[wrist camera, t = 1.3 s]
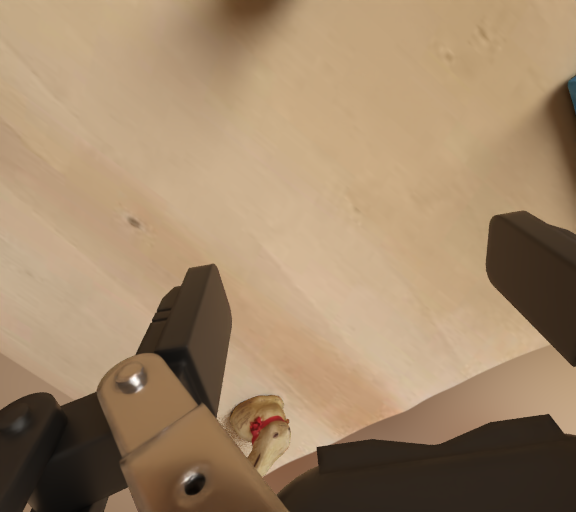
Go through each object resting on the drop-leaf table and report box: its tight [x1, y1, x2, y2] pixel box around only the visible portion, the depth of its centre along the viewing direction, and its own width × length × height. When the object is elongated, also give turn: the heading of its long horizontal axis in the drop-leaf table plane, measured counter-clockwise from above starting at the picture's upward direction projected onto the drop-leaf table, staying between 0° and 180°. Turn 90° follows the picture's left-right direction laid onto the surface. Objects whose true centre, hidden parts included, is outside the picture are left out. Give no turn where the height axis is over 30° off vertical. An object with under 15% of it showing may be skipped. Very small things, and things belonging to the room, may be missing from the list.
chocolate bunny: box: [230, 395, 291, 477], centre depth 44 cm, size 6×8×10 cm
